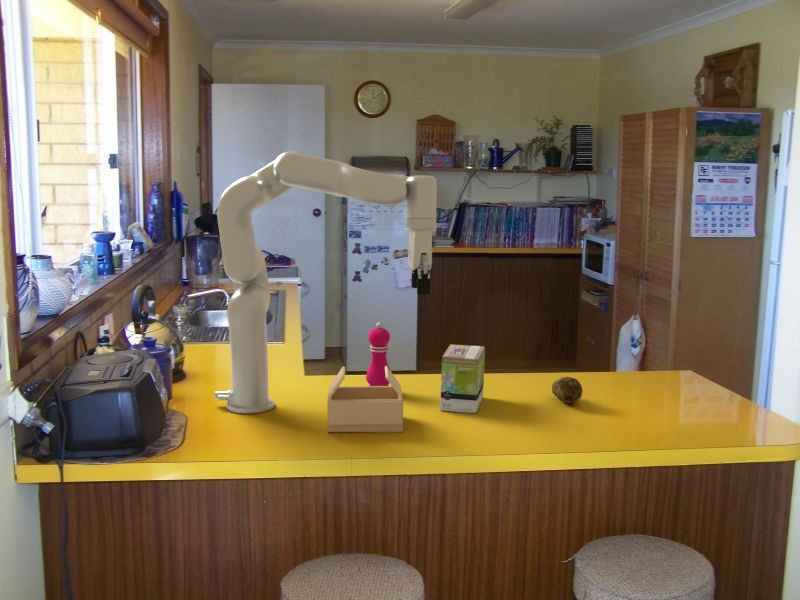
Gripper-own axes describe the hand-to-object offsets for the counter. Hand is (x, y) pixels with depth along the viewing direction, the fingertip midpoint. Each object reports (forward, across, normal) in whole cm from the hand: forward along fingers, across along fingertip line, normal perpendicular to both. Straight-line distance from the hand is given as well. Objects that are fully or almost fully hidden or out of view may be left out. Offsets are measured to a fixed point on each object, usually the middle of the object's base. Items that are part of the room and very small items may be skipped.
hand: (420, 290), depth 217 cm
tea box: (+31, -1, +12) cm, 33 cm away
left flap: (+22, +12, -24) cm, 35 cm away
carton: (+31, +13, -15) cm, 37 cm away
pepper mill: (+31, -14, -9) cm, 35 cm away
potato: (+31, +2, +40) cm, 50 cm away
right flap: (+22, +14, -7) cm, 27 cm away
